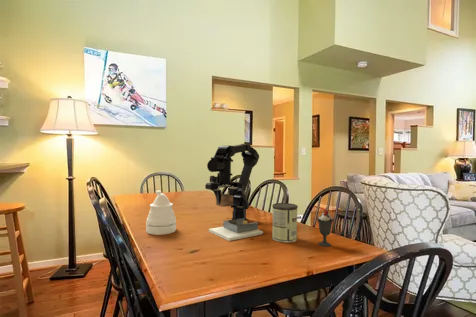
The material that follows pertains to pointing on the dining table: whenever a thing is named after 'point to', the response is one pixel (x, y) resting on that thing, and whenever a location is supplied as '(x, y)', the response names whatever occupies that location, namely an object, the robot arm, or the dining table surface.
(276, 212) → the coffee can
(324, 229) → the sundae
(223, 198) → the hollow wooden box
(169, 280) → the dining table surface
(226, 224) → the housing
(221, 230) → the base board
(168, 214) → the honey pot
